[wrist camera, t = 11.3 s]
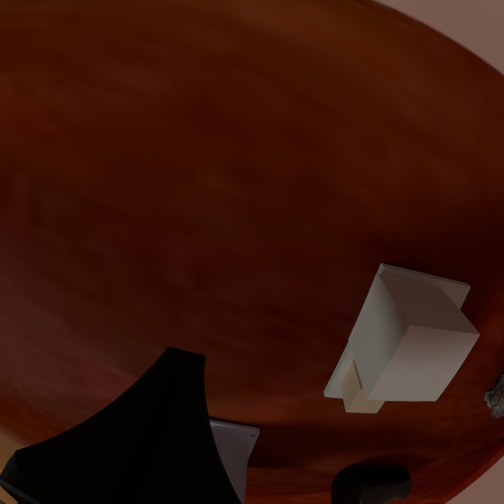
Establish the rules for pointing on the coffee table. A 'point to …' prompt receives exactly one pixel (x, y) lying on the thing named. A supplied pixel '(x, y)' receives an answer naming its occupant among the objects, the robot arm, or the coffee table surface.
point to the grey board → (346, 372)
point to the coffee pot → (370, 486)
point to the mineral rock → (496, 399)
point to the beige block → (409, 340)
